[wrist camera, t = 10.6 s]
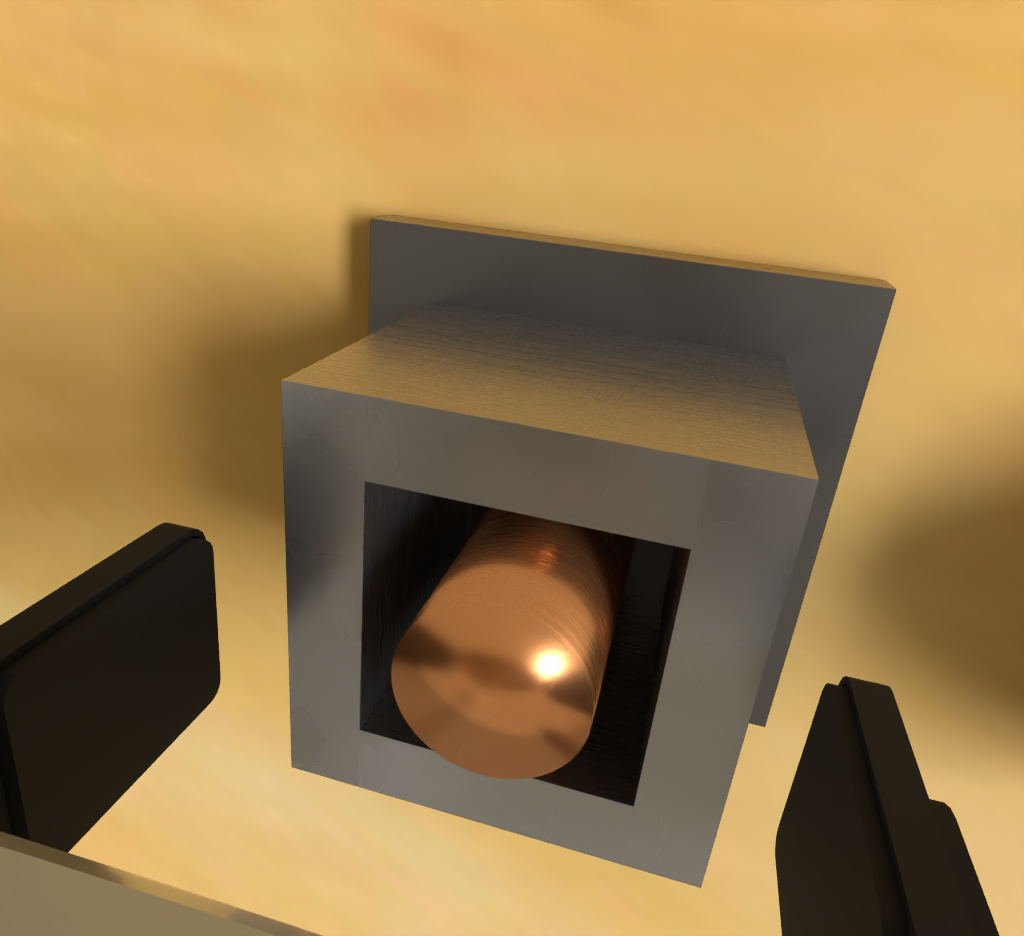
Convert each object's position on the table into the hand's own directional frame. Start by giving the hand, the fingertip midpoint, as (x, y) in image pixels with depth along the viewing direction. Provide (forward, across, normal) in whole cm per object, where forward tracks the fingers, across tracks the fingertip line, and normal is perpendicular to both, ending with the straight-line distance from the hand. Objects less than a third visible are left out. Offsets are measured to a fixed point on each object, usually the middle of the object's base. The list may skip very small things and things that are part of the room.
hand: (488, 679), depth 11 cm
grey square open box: (+6, 0, -1) cm, 6 cm away
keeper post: (+7, 0, -1) cm, 7 cm away
